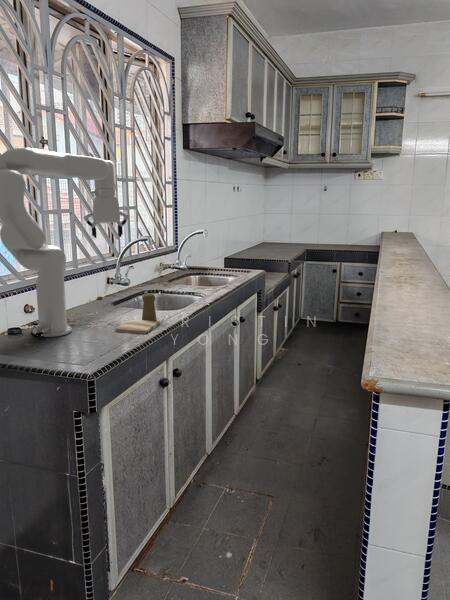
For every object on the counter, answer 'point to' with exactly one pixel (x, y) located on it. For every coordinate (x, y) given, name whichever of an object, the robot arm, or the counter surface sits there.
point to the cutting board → (137, 326)
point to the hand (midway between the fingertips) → (107, 237)
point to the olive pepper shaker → (149, 307)
